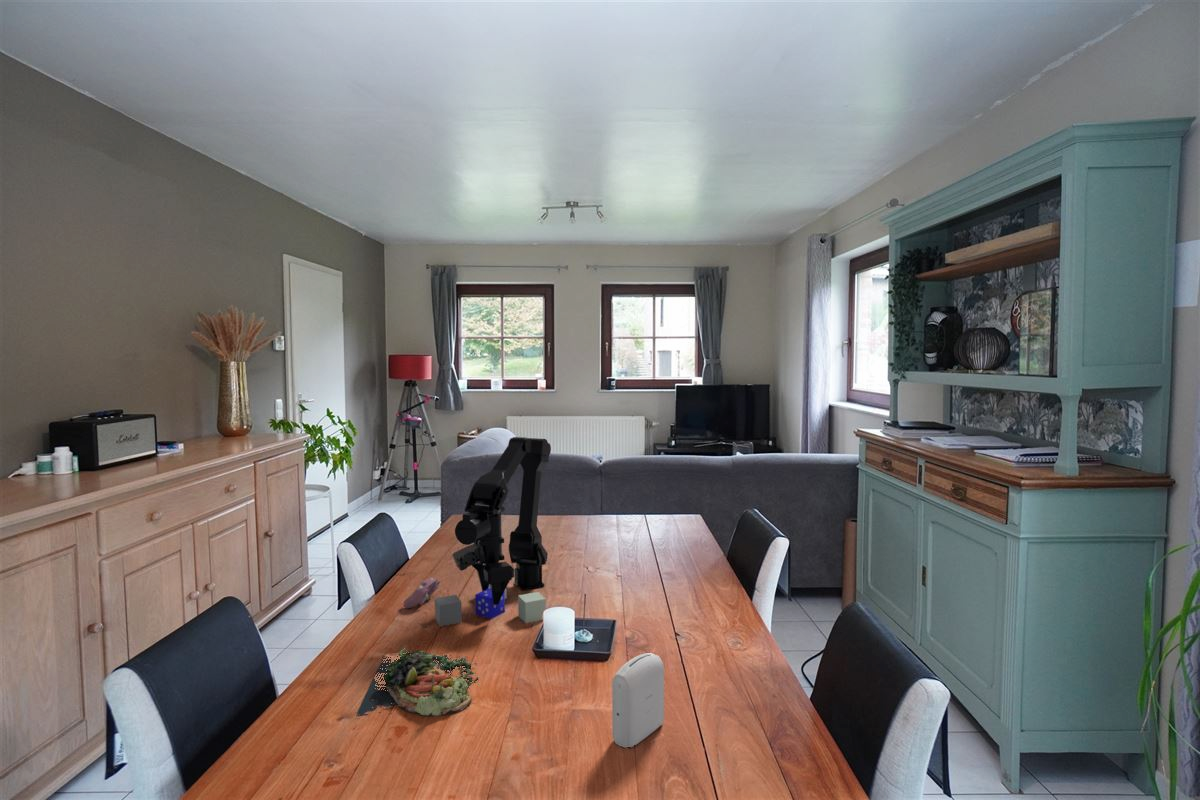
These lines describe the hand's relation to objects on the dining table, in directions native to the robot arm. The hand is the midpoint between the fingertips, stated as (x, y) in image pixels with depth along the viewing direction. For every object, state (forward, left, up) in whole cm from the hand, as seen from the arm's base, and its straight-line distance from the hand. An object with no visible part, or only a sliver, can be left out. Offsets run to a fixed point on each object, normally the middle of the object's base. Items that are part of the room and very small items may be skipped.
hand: (490, 597), depth 154 cm
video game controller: (+13, -14, -4) cm, 20 cm away
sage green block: (-8, +7, -4) cm, 11 cm away
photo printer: (-7, +59, -4) cm, 60 cm away
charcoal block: (+10, 0, -4) cm, 11 cm away
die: (0, 0, -4) cm, 4 cm away
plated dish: (+20, +28, -5) cm, 35 cm away
